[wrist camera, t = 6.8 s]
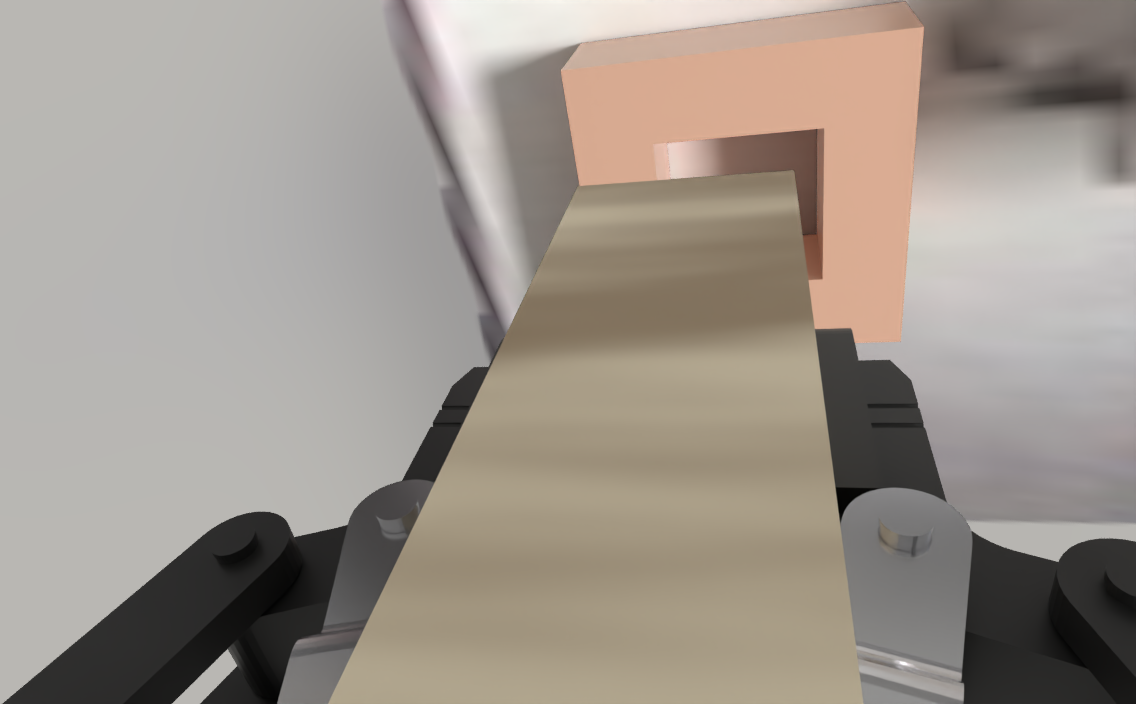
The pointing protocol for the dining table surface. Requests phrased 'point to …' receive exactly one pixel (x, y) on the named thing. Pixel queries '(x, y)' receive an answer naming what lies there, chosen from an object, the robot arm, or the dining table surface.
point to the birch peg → (635, 478)
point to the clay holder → (777, 131)
